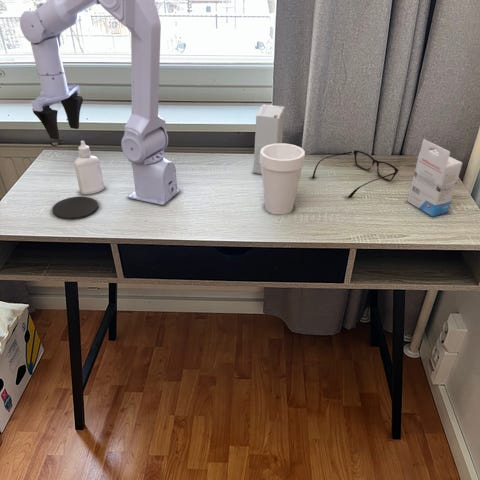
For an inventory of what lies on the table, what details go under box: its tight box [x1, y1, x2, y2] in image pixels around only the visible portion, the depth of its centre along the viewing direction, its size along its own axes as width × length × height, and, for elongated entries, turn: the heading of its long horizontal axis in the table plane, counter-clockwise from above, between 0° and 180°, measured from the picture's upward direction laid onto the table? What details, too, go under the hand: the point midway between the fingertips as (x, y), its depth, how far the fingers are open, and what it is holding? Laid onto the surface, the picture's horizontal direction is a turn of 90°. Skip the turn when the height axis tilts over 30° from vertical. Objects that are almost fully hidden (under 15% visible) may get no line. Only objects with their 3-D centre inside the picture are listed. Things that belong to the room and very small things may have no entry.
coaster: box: [51, 196, 99, 220], centre depth 113 cm, size 10×10×1 cm
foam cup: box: [260, 142, 306, 215], centre depth 109 cm, size 10×9×13 cm
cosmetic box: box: [253, 103, 286, 175], centre depth 125 cm, size 8×6×15 cm
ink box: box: [407, 138, 463, 218], centre depth 110 cm, size 8×5×15 cm, turn 26°
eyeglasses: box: [311, 149, 400, 199], centre depth 124 cm, size 16×16×4 cm
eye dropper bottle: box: [73, 140, 105, 195], centre depth 116 cm, size 4×6×12 cm
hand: (64, 133), depth 121 cm, fingers open, 7 cm apart
